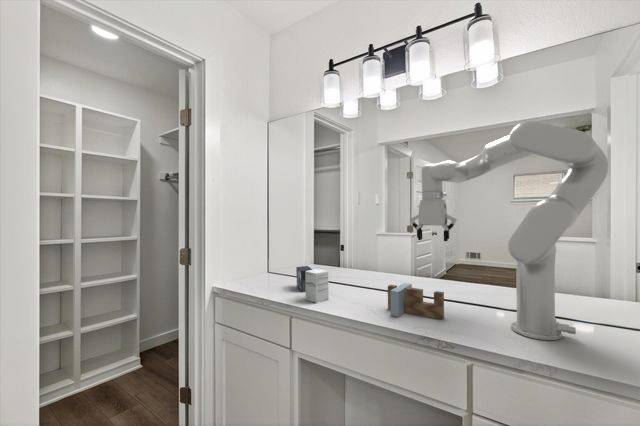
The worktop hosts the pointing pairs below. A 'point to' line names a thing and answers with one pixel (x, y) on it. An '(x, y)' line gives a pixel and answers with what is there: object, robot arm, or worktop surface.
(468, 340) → the worktop surface
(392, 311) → the crosspiece
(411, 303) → the notched board
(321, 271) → the supplement box
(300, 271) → the small box
